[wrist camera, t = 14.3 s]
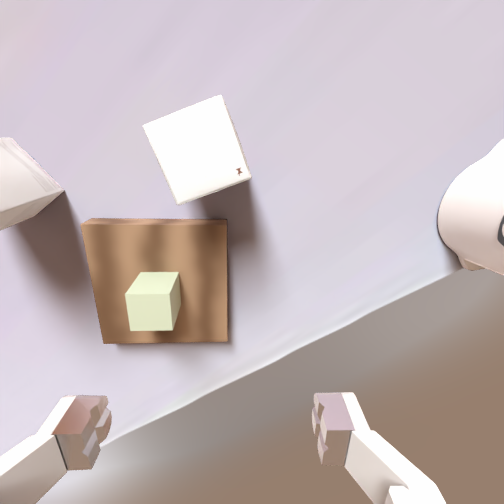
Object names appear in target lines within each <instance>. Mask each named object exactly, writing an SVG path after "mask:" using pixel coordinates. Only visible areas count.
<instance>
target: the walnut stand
mask: <svg viewBox="0 0 504 504" xmlns="http://www.w3.org/2000/svg"><path fill="white" fill-rule="evenodd" d="M80 225H81V230H82V235H83V240H84V245H85V250H86V256H87V261H88V266H89V271H90V276H91V281H92V287H93V292H94V297H95V302H96V307H97V312H98V318H99V323H100V328H101V333H102V338H103V343H104V344H118V343H170V342H222V341H227V334H228V308H227V219H106V218H91V219H89V220H88V221H86V222H84V223H82V224H80ZM140 272H179V283H180V296H181V306H180V309H179V312H178V316H177V319H176V322H175V325H174V328H173V330H165V331H130V325H129V318H128V312H127V305H126V298H125V293H126V292H127V291H128V289H129V288H130V286H131V285H132V284H133V282H134V281H135V279H136V278H137V277H138V275H139V274H140Z"/></svg>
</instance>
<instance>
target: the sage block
mask: <svg viewBox="0 0 504 504" xmlns="http://www.w3.org/2000/svg"><path fill="white" fill-rule="evenodd" d="M125 298H126V305H127V312H128V318H129V325H130V331H165V330H173V328H174V325H175V322H176V319H177V316H178V312H179V309H180V306H181V296H180V283H179V272H140V274H139V275H138V277H137V278H136V279H135V281H134V282H133V284H132V285H131V286H130V288H129V289H128V291H127V292H126V293H125Z"/></svg>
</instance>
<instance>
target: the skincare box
mask: <svg viewBox="0 0 504 504" xmlns="http://www.w3.org/2000/svg"><path fill="white" fill-rule="evenodd" d="M62 192H64V189H63V188H62V187H61V186H60V185H59V184H58V183H57V182H56V181H55V180H54V179H53V178H52V177H51V176H50V175H49V174H48V173H47V172H46V171H45V170H44V169H43V168H42V167H41V166H40V165H39V164H38V163H37V162H36V161H35V160H34V159H33V158H32V157H31V156H30V155H29V154H28V153H27V152H26V151H25V150H23V149H22V148H21V147H20V146H19V145H18V144H17V142H16V141H15V140H14V139H13V138H0V230H3V229H5V228H8V227H10V226H12V225H15V224H17V223H19V222H22V221H24V220H27V219H29V218H32V217H34V216H35V215H37V214H38V213H39V212H40V211H41V210H42V209H44V208H45V207H46V206H47V205H48V204H49V203H51V202H52V201H53V200H54V199H55V198H56V197H58V196H59V195H60V194H61V193H62Z"/></svg>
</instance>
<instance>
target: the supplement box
mask: <svg viewBox="0 0 504 504" xmlns="http://www.w3.org/2000/svg"><path fill="white" fill-rule="evenodd" d="M143 128H144V130H145V133H146V135H147V137H148V139H149V141H150V144H151V146H152V148H153V150H154V153H155V155H156V157H157V160H158V162H159V165H160V167H161V169H162V172H163V174H164V176H165V179H166V181H167V183H168V186H169V188H170V190H171V193H172V195H173V197H174V200H175V202H176V204H177V205H182V204H184V203H187V202H190V201H192V200H195V199H198V198H200V197H203V196H206V195H209V194H211V193H214V192H217V191H220V190H222V189H225V188H227V187H230V186H233V185H236V184H238V183H241V182H244V181H247V180H249V179H251V178H252V177H251V173H250V170H249V167H248V164H247V161H246V158H245V155H244V152H243V149H242V146H241V143H240V140H239V138H238V135H237V132H236V129H235V127H234V124H233V122H232V119H231V116H230V114H229V111H228V109H227V107H226V104H225V102H224V99H223V97H222V95H219V96H216V97H213V98H210V99H207V100H205V101H202V102H200V103H197V104H194V105H192V106H189V107H187V108H184V109H182V110H179V111H177V112H174V113H172V114H170V115H167V116H164V117H162V118H159V119H157V120H155V121H152V122H150V123H148V124H145V125H143Z"/></svg>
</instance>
